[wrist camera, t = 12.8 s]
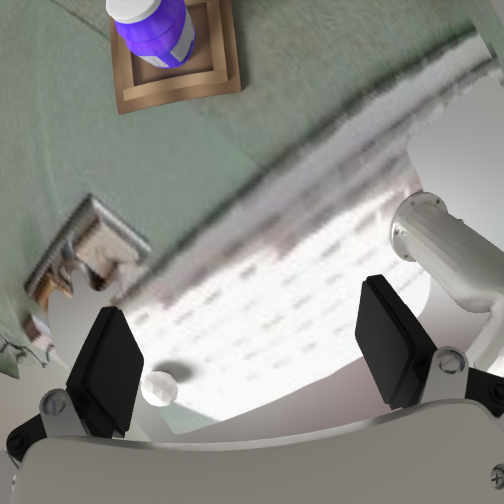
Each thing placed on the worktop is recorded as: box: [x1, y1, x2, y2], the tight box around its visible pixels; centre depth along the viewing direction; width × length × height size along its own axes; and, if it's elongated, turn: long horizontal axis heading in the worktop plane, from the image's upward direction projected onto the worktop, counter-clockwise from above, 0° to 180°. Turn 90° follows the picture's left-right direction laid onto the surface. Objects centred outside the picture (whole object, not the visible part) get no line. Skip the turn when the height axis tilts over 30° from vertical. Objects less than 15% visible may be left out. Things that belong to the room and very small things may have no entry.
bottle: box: [106, 0, 196, 68], centre depth 20 cm, size 7×6×17 cm
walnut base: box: [110, 0, 241, 114], centre depth 28 cm, size 16×16×3 cm
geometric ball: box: [141, 371, 178, 407], centre depth 52 cm, size 8×8×8 cm
